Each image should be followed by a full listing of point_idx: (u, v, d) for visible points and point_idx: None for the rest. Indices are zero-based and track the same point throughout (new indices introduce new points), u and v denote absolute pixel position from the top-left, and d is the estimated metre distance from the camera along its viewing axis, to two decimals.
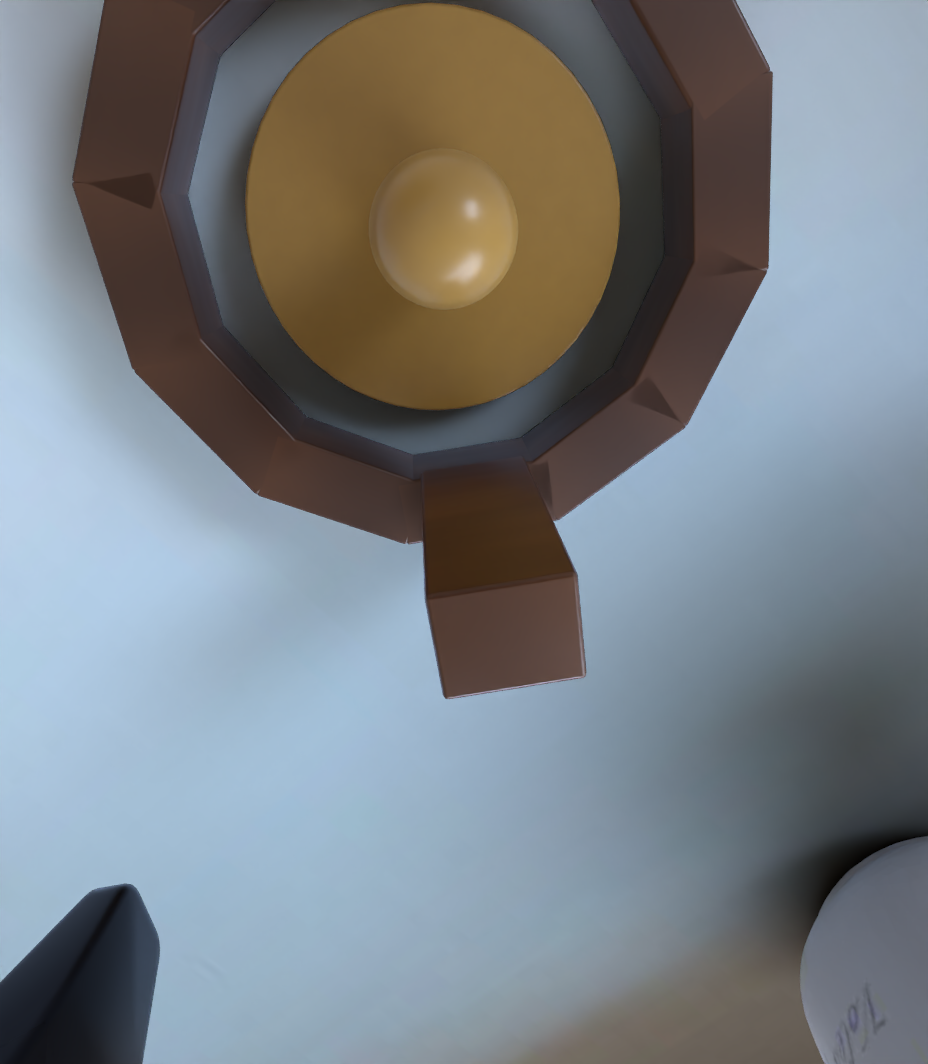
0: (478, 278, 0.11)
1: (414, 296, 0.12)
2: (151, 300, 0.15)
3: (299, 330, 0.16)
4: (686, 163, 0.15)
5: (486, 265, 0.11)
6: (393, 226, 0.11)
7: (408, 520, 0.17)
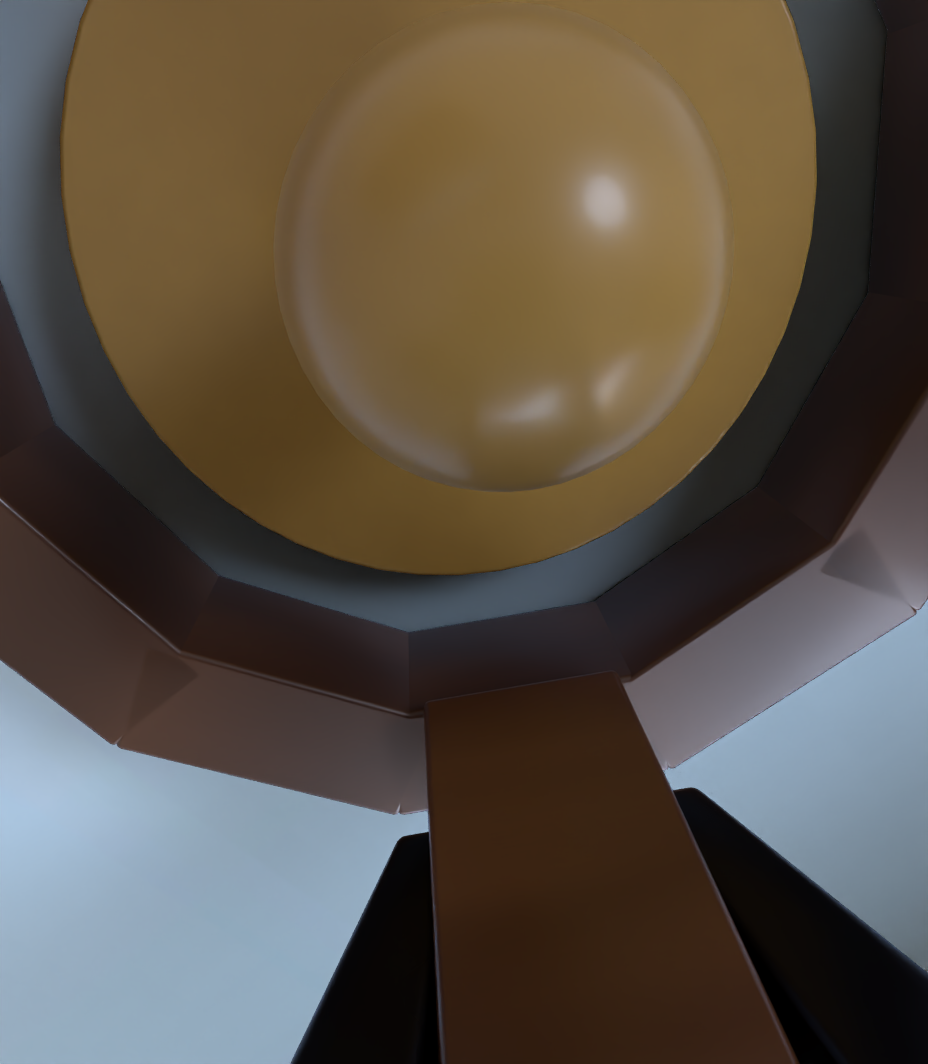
0: (622, 427, 0.04)
1: (415, 470, 0.04)
2: None
3: (189, 441, 0.08)
4: None
5: (653, 389, 0.03)
6: (342, 264, 0.03)
7: (401, 778, 0.09)
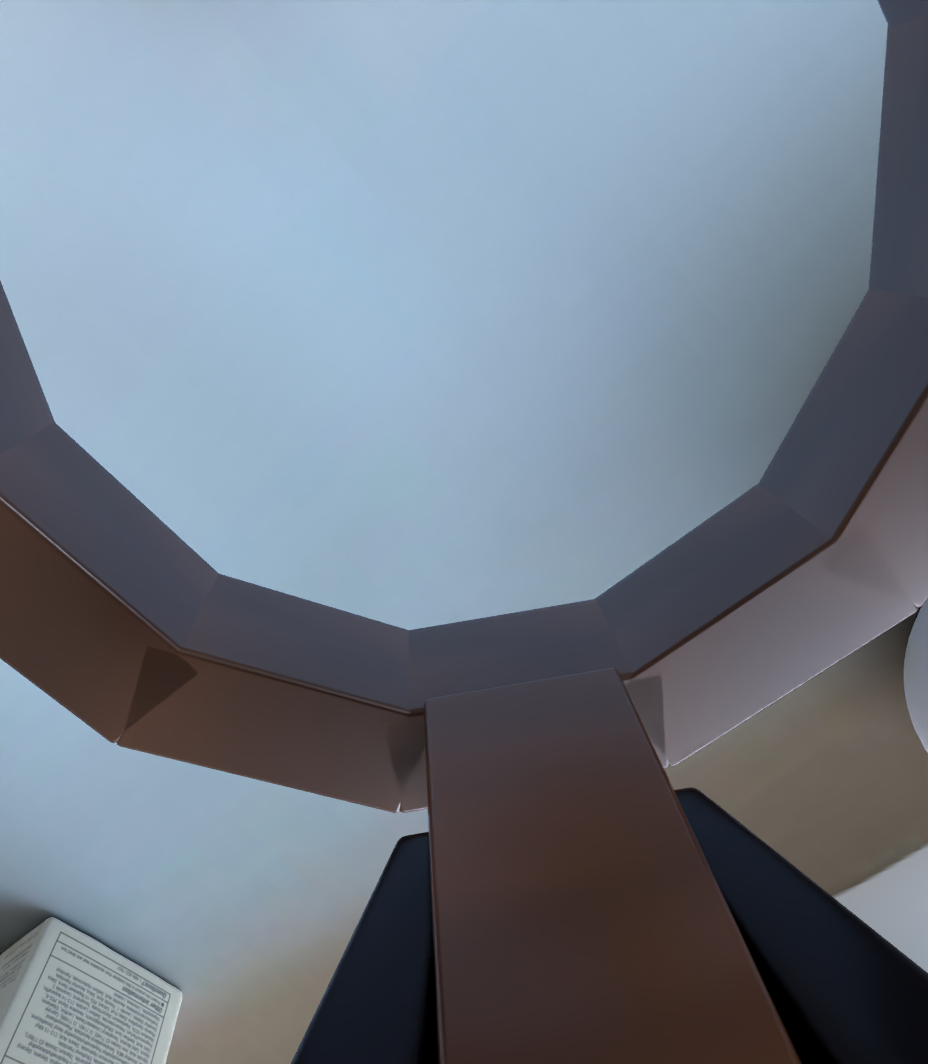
0: None
1: None
2: None
3: None
4: None
5: None
6: None
7: (401, 776, 0.09)
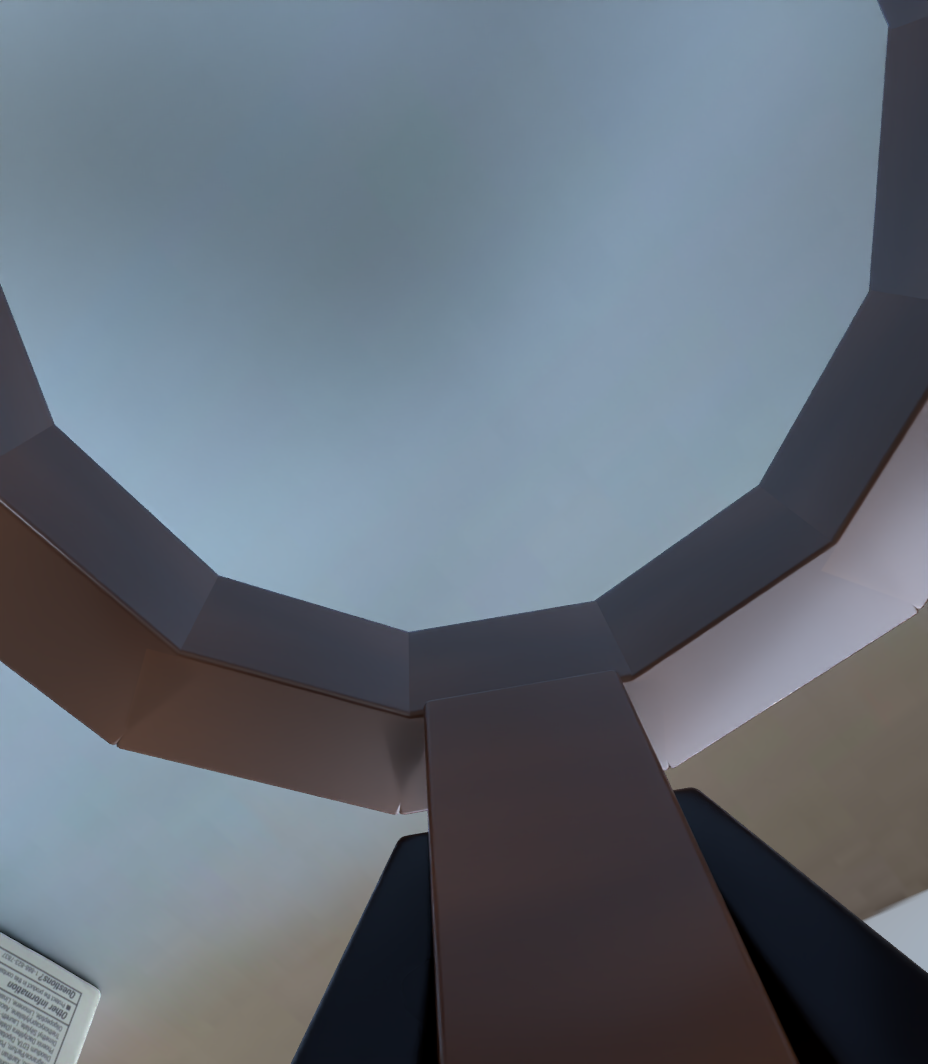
0: None
1: None
2: None
3: None
4: None
5: None
6: None
7: (401, 778, 0.09)
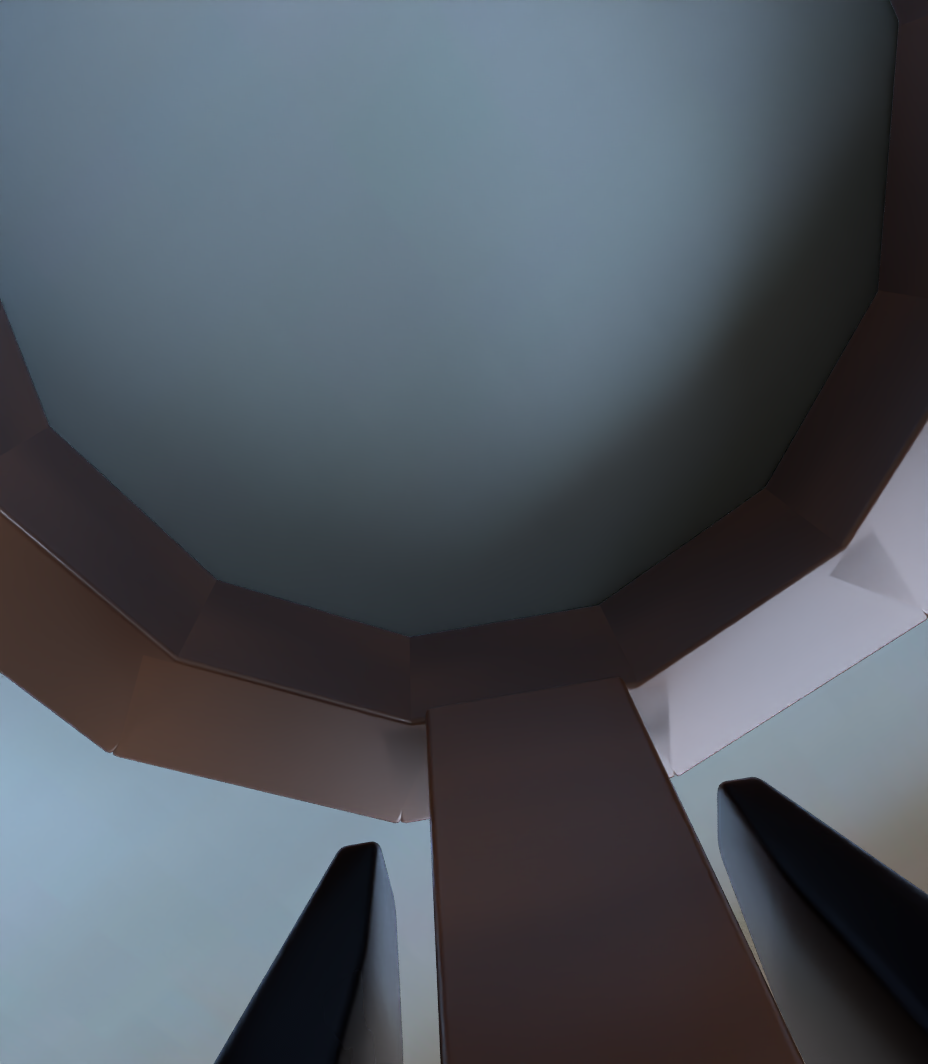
0: None
1: None
2: None
3: None
4: None
5: None
6: None
7: (402, 786, 0.09)
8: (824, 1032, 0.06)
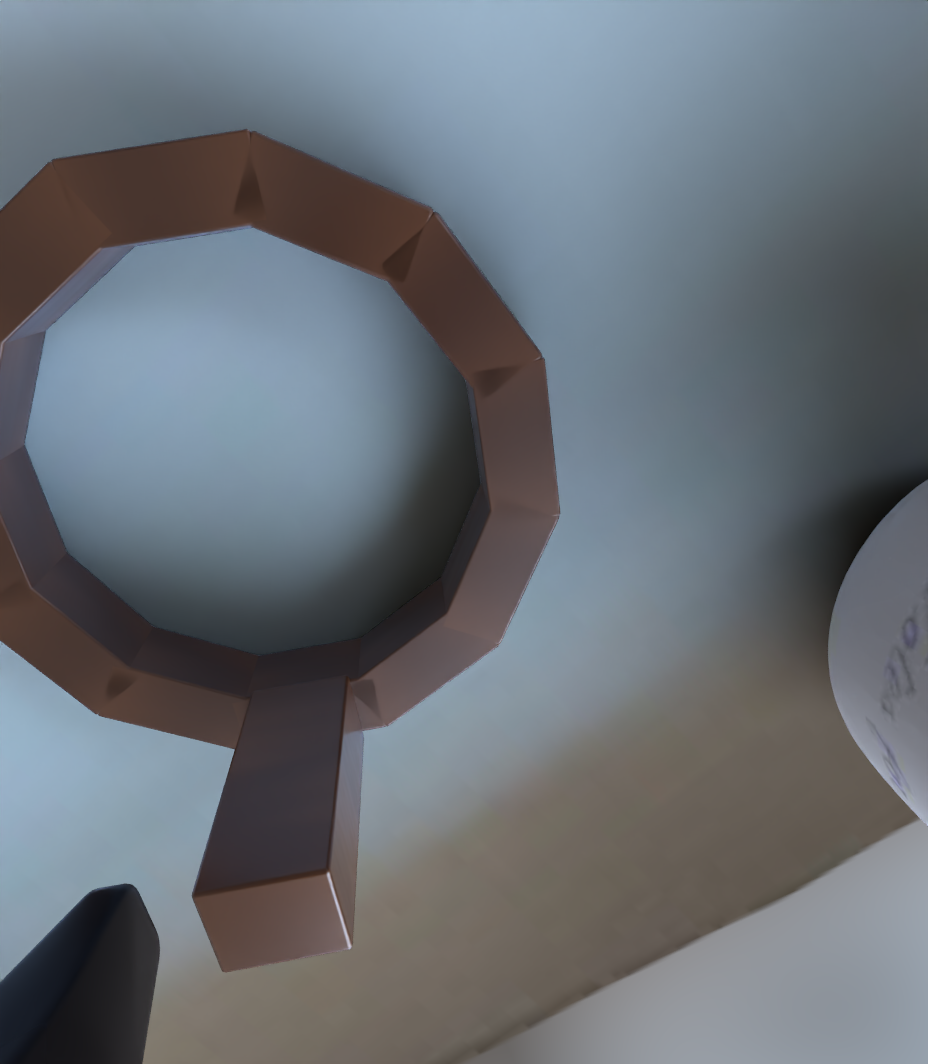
0: None
1: None
2: None
3: None
4: (477, 428, 0.16)
5: None
6: None
7: None
8: None
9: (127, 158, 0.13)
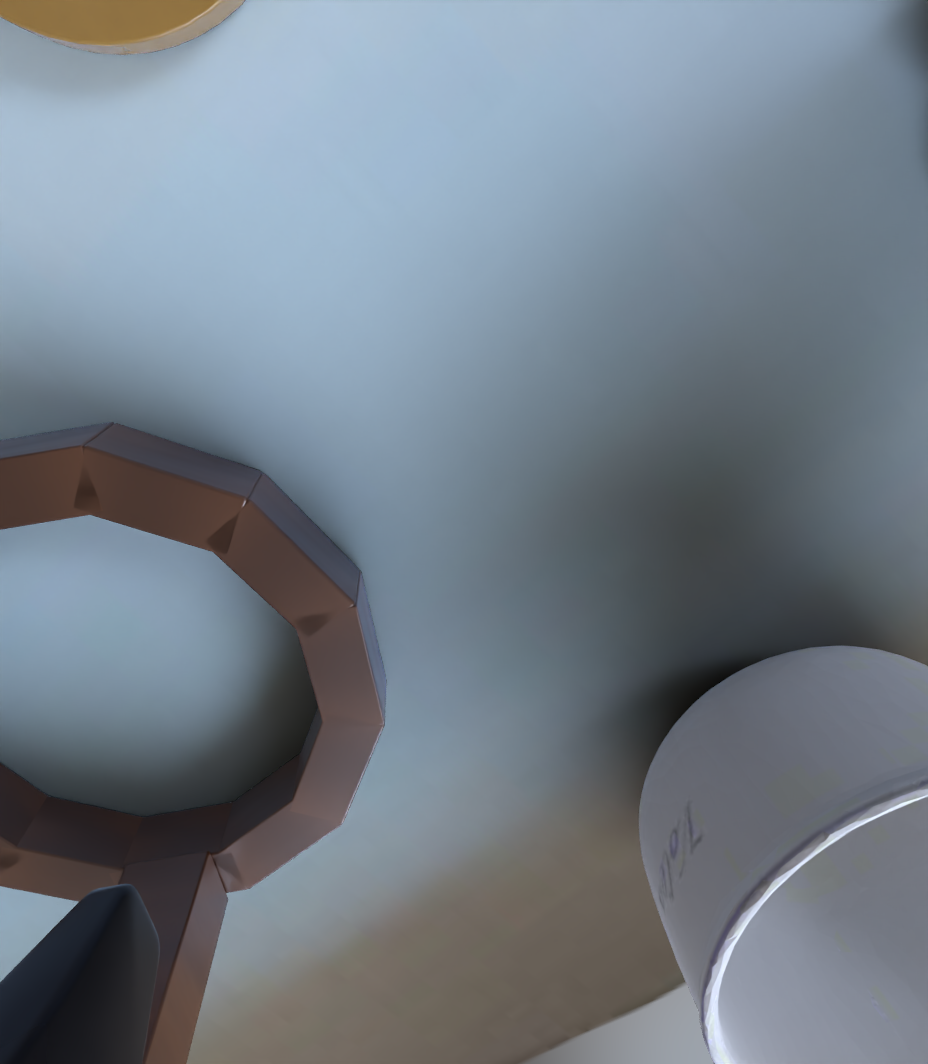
0: None
1: None
2: None
3: None
4: (306, 656, 0.19)
5: None
6: None
7: None
8: None
9: None
